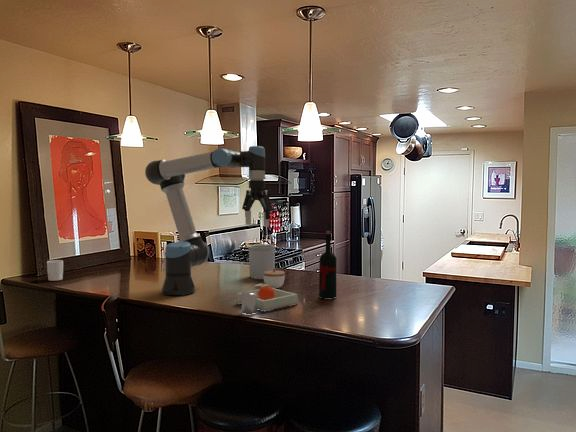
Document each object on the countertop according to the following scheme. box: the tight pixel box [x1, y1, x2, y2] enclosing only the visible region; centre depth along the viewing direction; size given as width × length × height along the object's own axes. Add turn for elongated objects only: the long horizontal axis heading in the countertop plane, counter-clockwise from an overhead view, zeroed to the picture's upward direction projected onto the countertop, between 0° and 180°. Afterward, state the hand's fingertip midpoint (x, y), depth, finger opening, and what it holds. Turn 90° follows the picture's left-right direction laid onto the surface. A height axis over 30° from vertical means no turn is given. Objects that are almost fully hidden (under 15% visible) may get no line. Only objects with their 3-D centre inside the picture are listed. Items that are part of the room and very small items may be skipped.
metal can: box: [241, 291, 258, 314], centre depth 178 cm, size 6×6×8 cm
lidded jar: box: [263, 268, 286, 289], centre depth 224 cm, size 11×11×9 cm
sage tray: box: [237, 288, 298, 310], centre depth 192 cm, size 18×18×4 cm
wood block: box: [253, 283, 269, 290], centre depth 208 cm, size 5×5×5 cm
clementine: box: [258, 286, 275, 300], centre depth 192 cm, size 8×7×7 cm
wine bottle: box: [318, 230, 337, 298], centre depth 202 cm, size 8×10×30 cm
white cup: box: [46, 259, 64, 282], centre depth 242 cm, size 8×8×10 cm
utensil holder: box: [247, 243, 276, 280], centre depth 251 cm, size 15×15×18 cm
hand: (257, 225), depth 212 cm, fingers open, 13 cm apart
